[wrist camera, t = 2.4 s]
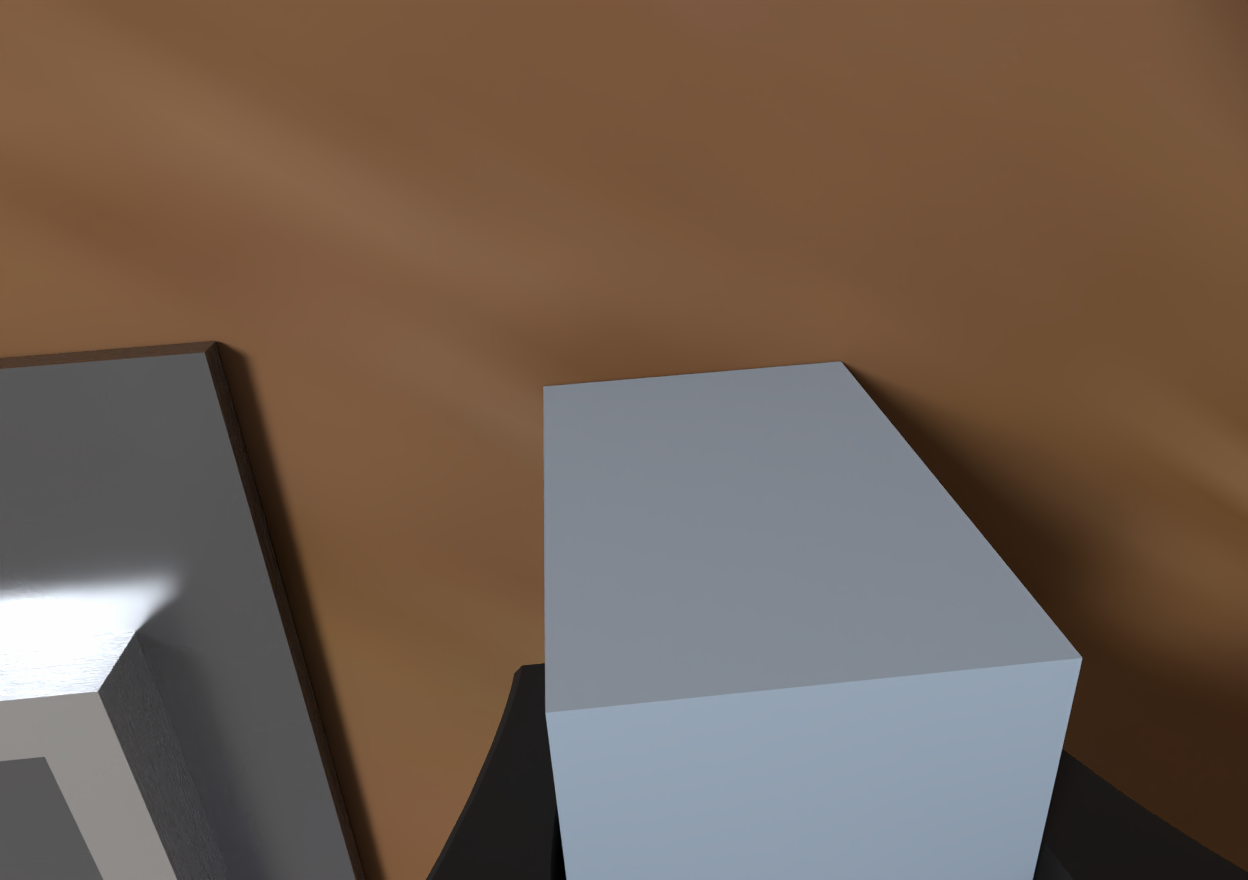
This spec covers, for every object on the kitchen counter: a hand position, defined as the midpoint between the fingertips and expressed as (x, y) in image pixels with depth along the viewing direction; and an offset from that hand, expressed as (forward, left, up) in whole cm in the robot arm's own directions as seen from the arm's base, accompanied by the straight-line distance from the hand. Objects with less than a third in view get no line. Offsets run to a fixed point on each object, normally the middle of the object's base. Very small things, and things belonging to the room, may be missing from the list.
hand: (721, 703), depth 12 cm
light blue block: (0, 0, -2) cm, 2 cm away
